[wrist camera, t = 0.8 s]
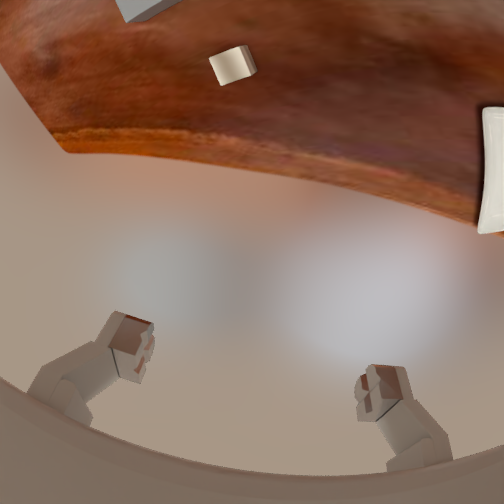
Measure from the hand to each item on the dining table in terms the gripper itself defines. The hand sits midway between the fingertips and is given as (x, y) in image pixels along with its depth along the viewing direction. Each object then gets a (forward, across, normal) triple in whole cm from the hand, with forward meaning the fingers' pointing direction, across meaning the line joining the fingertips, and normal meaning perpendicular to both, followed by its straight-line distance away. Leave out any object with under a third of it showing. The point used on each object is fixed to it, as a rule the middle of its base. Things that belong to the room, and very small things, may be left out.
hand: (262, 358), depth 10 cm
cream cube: (+43, +9, -12) cm, 46 cm away
